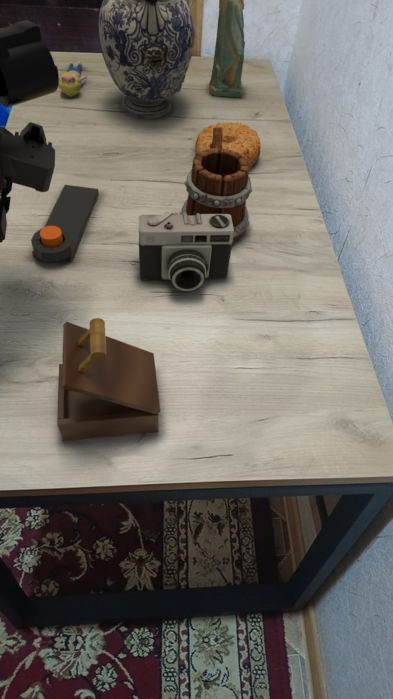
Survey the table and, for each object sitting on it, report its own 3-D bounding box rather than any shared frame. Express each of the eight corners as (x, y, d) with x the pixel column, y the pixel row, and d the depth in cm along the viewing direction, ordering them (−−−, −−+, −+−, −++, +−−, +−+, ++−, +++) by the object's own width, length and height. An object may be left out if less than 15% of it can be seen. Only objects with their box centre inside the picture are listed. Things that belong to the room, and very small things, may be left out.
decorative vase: (196, 132, 103) (208, -32, 80) (106, 133, 100) (93, -36, 78) (182, 83, 115) (190, -69, 93) (102, 83, 112) (90, -74, 90)
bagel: (266, 148, 101) (270, 124, 97) (247, 183, 93) (252, 159, 89) (206, 133, 103) (209, 109, 99) (184, 166, 95) (185, 142, 91)
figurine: (64, 71, 116) (56, 98, 107) (61, 51, 113) (53, 77, 103) (89, 73, 117) (83, 100, 107) (88, 52, 114) (81, 78, 104)
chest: (62, 441, 58) (57, 424, 55) (63, 382, 63) (58, 363, 60) (158, 432, 60) (158, 415, 57) (152, 375, 65) (152, 356, 62)
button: (59, 249, 74) (58, 240, 73) (39, 246, 75) (36, 237, 73) (65, 235, 76) (64, 226, 75) (45, 233, 76) (43, 224, 75)
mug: (180, 249, 80) (184, 157, 70) (177, 208, 90) (180, 123, 80) (251, 250, 81) (265, 160, 71) (240, 210, 91) (251, 125, 81)
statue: (246, 99, 113) (266, -34, 93) (210, 98, 112) (222, -37, 92) (242, 85, 117) (260, -46, 97) (207, 84, 116) (218, -48, 96)
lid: (61, 388, 49) (86, 363, 47) (63, 324, 54) (85, 298, 52) (156, 414, 56) (183, 394, 54) (150, 356, 61) (174, 334, 59)
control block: (69, 269, 76) (66, 255, 73) (30, 264, 76) (26, 249, 73) (99, 194, 88) (97, 179, 85) (65, 190, 88) (63, 175, 85)
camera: (134, 295, 73) (132, 241, 65) (140, 256, 79) (140, 202, 71) (226, 302, 74) (236, 250, 66) (226, 262, 79) (234, 210, 72)
